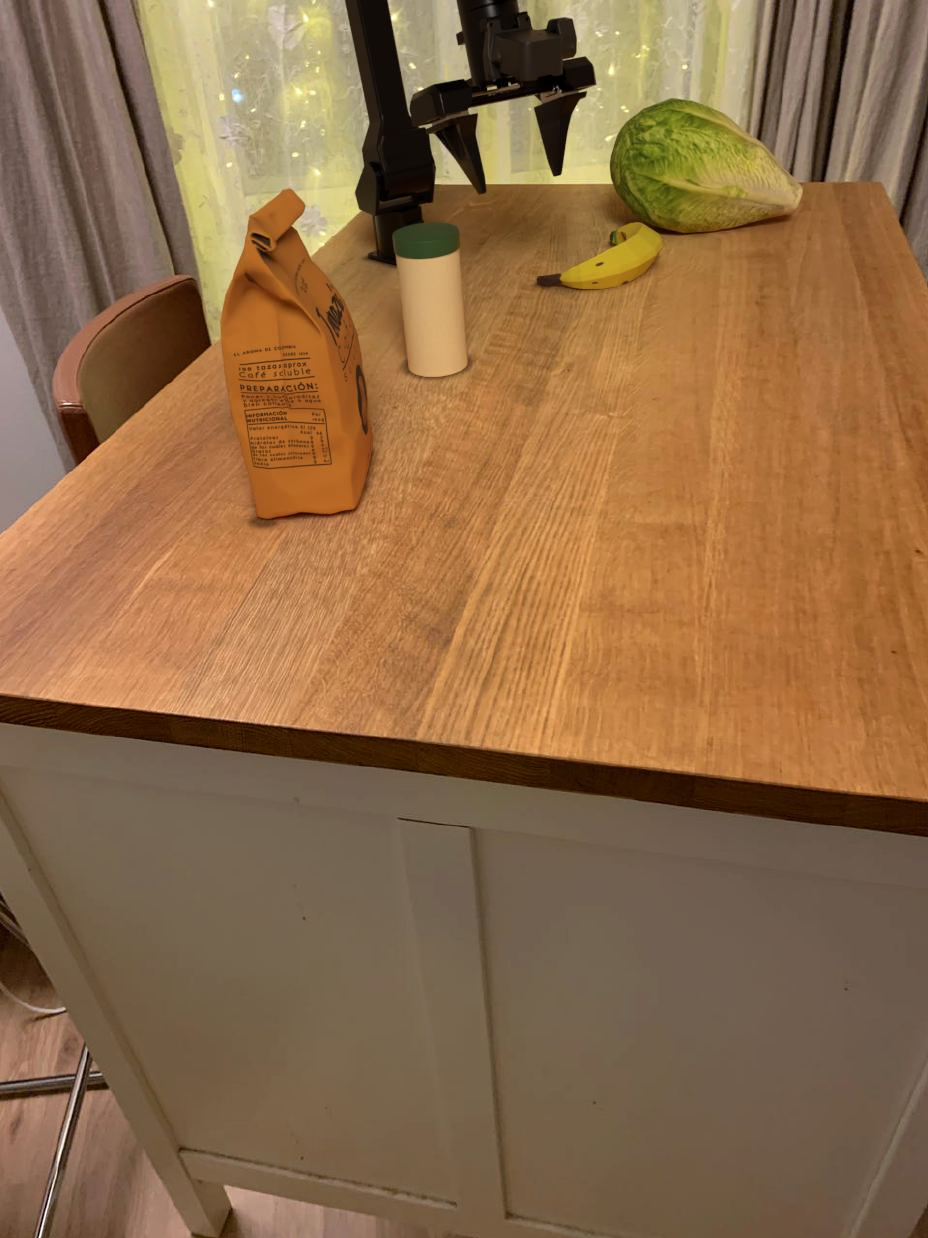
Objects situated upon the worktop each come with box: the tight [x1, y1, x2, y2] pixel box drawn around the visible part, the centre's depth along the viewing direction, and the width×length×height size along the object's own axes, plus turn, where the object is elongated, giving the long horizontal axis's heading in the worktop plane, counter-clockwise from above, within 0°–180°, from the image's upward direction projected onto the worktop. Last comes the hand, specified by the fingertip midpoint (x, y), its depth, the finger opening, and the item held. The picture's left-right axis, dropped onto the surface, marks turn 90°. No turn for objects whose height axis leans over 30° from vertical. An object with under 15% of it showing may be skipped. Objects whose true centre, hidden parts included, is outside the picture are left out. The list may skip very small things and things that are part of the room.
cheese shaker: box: [392, 221, 469, 378], centre depth 94 cm, size 6×6×13 cm
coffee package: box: [219, 188, 374, 520], centre depth 74 cm, size 10×12×22 cm
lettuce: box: [609, 97, 804, 234], centre depth 124 cm, size 15×25×16 cm
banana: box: [535, 221, 664, 290], centre depth 117 cm, size 5×17×15 cm
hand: (520, 184), depth 99 cm, fingers open, 9 cm apart
